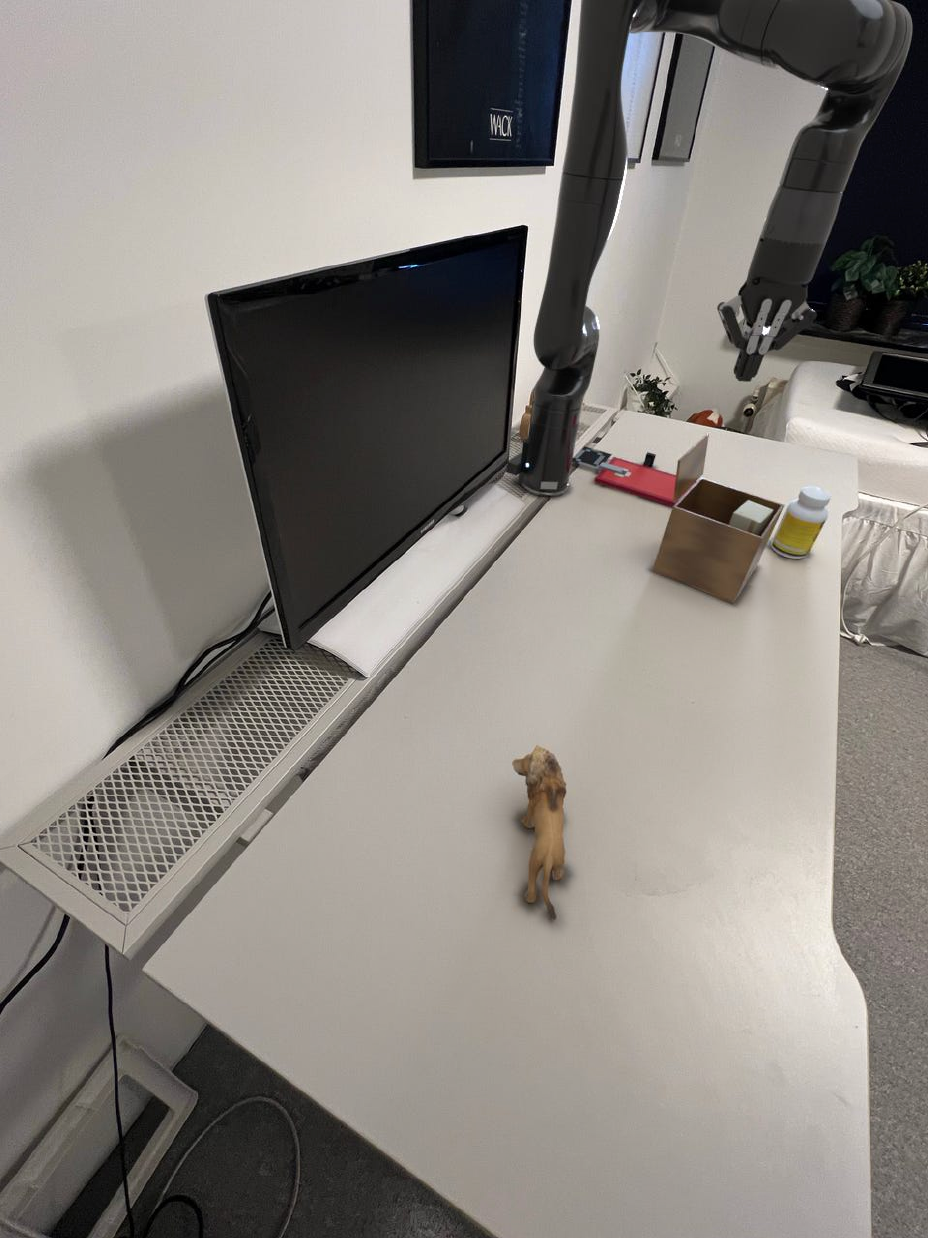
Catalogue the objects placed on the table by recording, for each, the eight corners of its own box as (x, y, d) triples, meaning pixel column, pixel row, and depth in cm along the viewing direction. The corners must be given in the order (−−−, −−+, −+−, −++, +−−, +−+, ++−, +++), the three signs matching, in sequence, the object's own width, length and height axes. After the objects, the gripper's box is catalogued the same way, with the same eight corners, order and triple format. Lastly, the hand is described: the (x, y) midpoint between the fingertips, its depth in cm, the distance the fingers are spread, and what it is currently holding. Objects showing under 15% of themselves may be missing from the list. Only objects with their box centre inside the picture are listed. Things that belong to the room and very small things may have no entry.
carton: (652, 570, 100) (672, 506, 92) (679, 538, 109) (700, 477, 100) (733, 604, 95) (762, 538, 87) (756, 567, 103) (784, 504, 95)
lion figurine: (504, 789, 67) (512, 739, 61) (550, 786, 68) (563, 737, 62) (527, 924, 56) (540, 880, 50) (582, 920, 57) (601, 875, 51)
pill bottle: (802, 565, 104) (832, 507, 96) (765, 551, 107) (791, 493, 99) (811, 549, 108) (841, 492, 100) (775, 536, 111) (801, 479, 103)
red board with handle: (586, 446, 135) (560, 473, 126) (589, 435, 133) (562, 461, 124) (719, 485, 125) (702, 518, 115) (724, 473, 123) (706, 505, 113)
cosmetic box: (731, 587, 97) (759, 523, 89) (706, 576, 99) (732, 512, 91) (747, 571, 101) (775, 508, 93) (722, 560, 103) (748, 498, 95)
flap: (675, 502, 92) (672, 502, 92) (703, 473, 100) (700, 473, 100) (680, 460, 88) (677, 460, 88) (708, 433, 96) (706, 433, 96)
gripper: (832, 232, 75) (777, 372, 86) (730, 226, 74) (688, 368, 86) (862, 243, 69) (799, 391, 81) (752, 236, 69) (704, 387, 80)
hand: (742, 379), depth 83 cm, fingers closed
